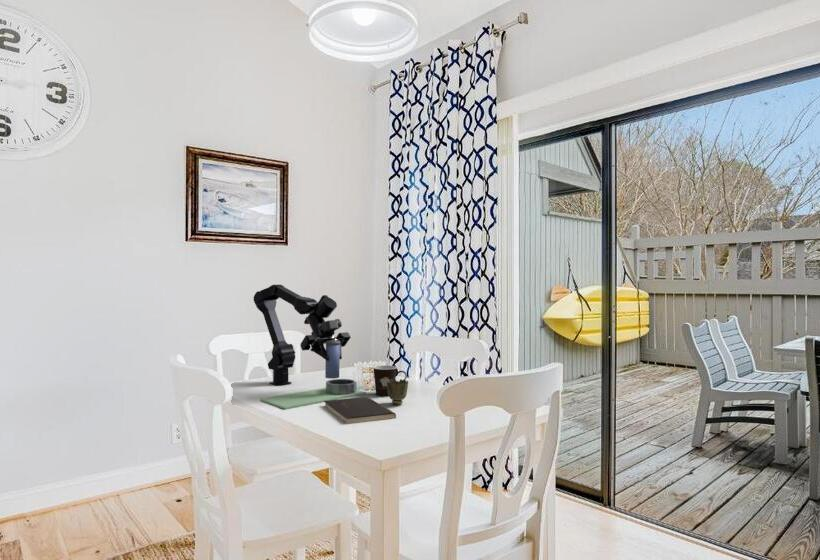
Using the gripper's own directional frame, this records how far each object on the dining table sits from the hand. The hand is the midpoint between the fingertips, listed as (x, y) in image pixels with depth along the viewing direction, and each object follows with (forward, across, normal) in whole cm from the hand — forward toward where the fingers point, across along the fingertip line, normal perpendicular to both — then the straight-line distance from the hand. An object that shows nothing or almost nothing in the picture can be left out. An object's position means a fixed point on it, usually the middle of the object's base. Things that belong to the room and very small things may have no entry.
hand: (334, 359), depth 188 cm
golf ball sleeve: (+4, 0, +6) cm, 7 cm away
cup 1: (+7, +5, +11) cm, 14 cm away
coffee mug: (+17, +17, +2) cm, 24 cm away
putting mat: (+7, -6, +12) cm, 15 cm away
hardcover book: (+26, -6, -6) cm, 27 cm away
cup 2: (+25, +11, -6) cm, 28 cm away
